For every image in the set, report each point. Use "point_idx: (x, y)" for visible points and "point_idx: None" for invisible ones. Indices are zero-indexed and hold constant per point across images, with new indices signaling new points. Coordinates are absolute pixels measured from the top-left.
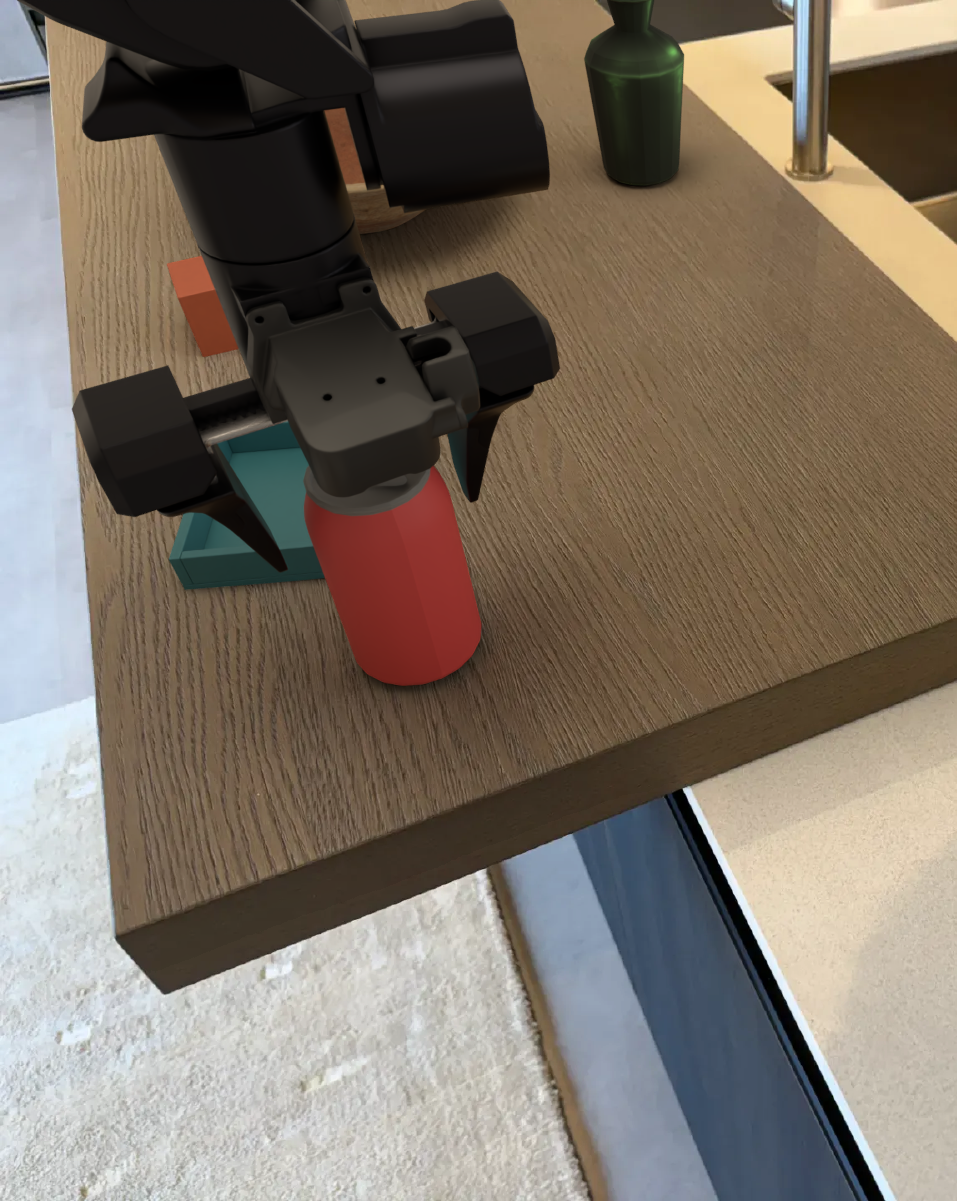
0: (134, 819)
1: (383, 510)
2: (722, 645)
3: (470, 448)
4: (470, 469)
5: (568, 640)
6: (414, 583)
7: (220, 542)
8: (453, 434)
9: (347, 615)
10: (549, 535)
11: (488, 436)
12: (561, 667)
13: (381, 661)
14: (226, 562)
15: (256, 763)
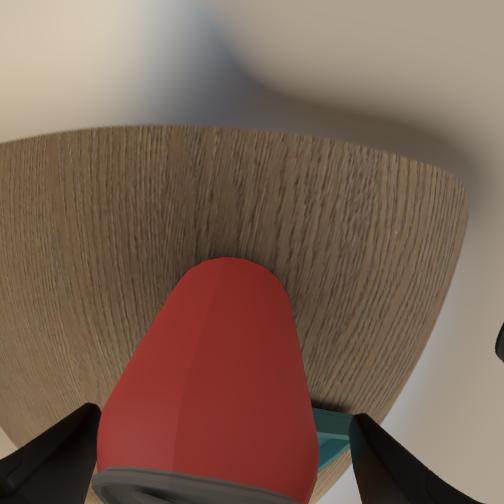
0: (453, 258)
1: (188, 477)
2: (29, 185)
3: (33, 465)
4: (58, 441)
5: (115, 252)
6: (202, 333)
7: (320, 439)
8: (70, 488)
9: (297, 343)
10: (108, 356)
11: (8, 460)
12: (129, 226)
13: (276, 289)
14: (332, 428)
15: (386, 262)
